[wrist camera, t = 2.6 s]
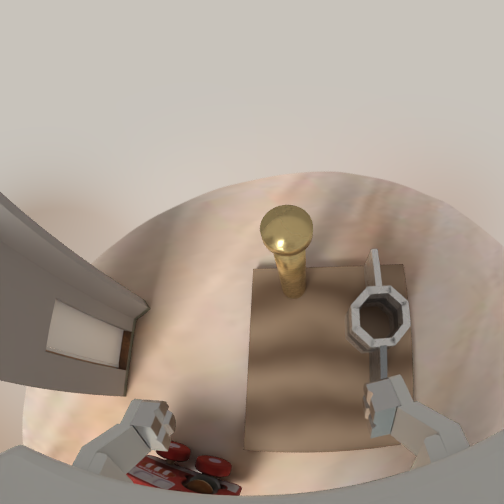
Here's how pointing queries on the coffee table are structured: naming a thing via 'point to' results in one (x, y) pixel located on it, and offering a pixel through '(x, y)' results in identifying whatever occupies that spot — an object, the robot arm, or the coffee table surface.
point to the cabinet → (60, 314)
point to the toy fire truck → (184, 473)
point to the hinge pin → (288, 245)
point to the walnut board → (315, 362)
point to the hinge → (389, 304)
